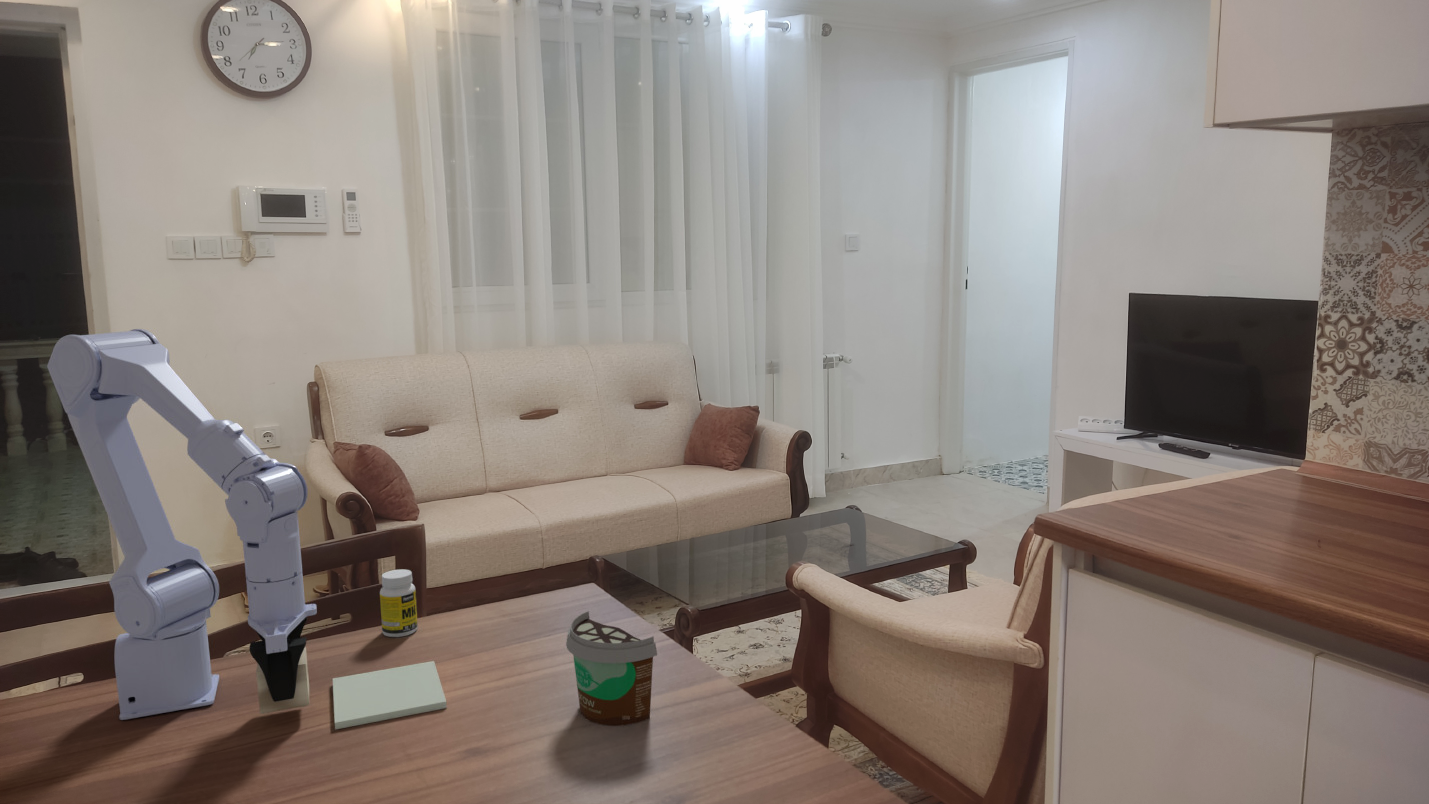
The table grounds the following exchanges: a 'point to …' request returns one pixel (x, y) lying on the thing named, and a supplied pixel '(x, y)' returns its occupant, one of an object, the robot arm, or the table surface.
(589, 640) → the food container
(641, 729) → the table surface
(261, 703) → the cube
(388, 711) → the tile
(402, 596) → the supplement bottle
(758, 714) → the table surface
